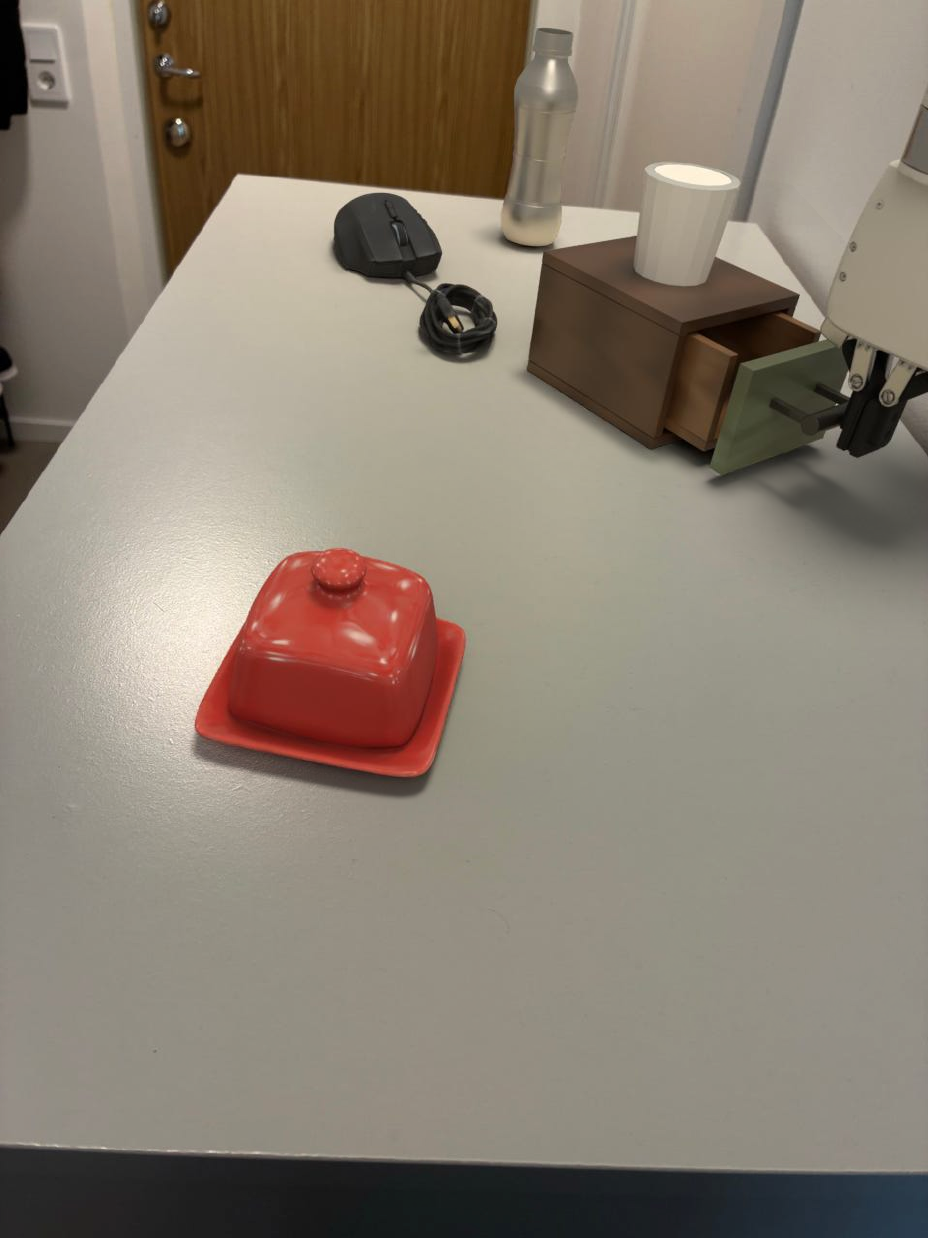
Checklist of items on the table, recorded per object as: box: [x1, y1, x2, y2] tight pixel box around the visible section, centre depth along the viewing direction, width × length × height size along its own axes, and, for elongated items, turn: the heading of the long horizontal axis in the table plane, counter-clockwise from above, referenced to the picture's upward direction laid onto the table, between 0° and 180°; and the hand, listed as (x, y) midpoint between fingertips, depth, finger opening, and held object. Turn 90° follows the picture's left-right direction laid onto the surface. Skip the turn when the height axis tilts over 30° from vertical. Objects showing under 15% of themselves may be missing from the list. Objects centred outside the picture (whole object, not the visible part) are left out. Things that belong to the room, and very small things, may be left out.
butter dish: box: [194, 547, 467, 778], centre depth 45 cm, size 12×12×8 cm
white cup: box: [634, 161, 742, 286], centre depth 70 cm, size 7×7×7 cm
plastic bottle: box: [500, 27, 580, 247], centre depth 98 cm, size 6×7×20 cm
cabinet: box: [526, 235, 801, 450], centre depth 75 cm, size 15×13×10 cm
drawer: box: [664, 311, 850, 476], centre depth 70 cm, size 18×12×8 cm, turn 36°
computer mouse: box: [333, 192, 498, 354], centre depth 89 cm, size 10×32×6 cm, turn 24°
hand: (858, 447), depth 64 cm, fingers closed
